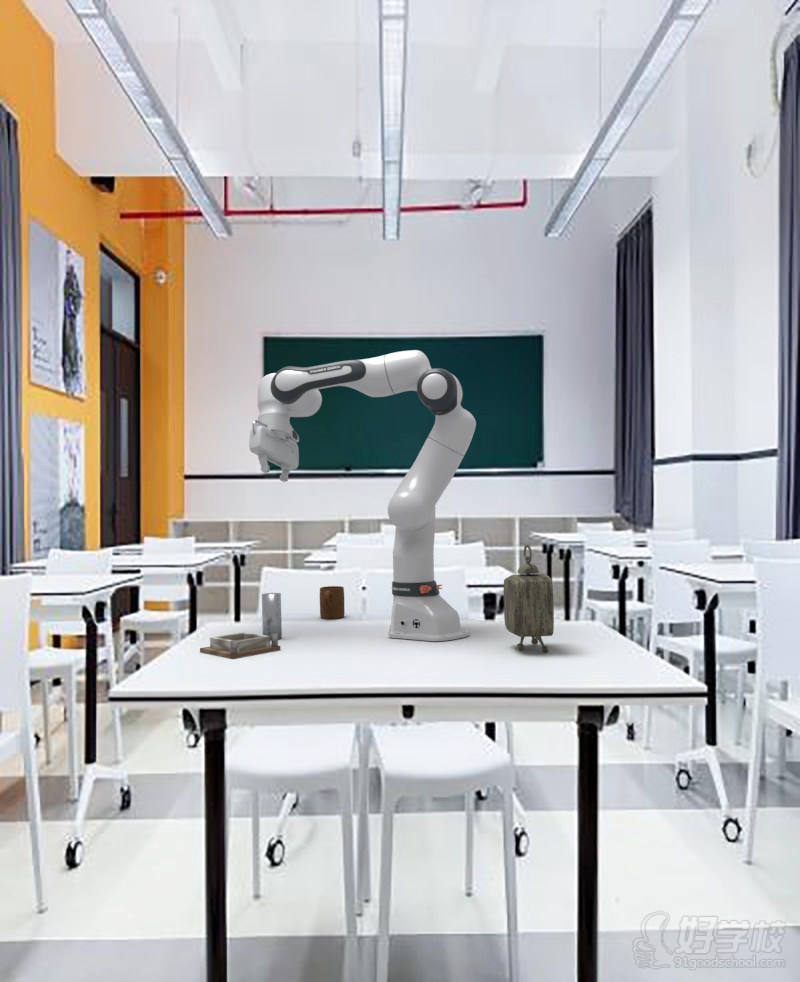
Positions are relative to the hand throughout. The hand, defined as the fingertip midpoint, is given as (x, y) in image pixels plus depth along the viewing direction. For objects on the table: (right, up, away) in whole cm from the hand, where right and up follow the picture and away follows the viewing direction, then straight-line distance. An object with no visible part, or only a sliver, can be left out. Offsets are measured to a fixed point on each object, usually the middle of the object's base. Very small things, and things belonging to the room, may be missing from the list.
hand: (274, 476), depth 234 cm
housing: (-5, -43, -24) cm, 50 cm away
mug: (+13, -43, +28) cm, 53 cm away
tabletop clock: (+65, -42, -30) cm, 83 cm away
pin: (0, -43, -7) cm, 44 cm away
